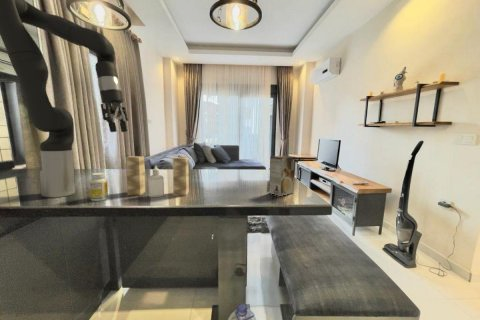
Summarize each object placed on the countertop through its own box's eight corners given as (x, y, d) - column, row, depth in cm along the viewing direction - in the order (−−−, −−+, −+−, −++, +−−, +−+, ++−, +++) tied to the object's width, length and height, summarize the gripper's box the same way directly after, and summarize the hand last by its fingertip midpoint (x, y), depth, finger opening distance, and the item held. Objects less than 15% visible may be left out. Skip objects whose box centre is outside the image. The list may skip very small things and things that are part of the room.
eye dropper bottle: (160, 198, 84) (159, 167, 83) (146, 197, 85) (145, 166, 83) (165, 194, 88) (165, 165, 87) (152, 193, 89) (152, 164, 88)
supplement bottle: (96, 202, 78) (94, 175, 76) (88, 199, 80) (86, 173, 79) (111, 198, 82) (110, 173, 81) (103, 196, 85) (101, 171, 84)
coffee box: (282, 190, 100) (283, 155, 98) (293, 193, 95) (296, 156, 93) (268, 193, 94) (270, 156, 92) (280, 197, 89) (282, 158, 87)
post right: (173, 195, 87) (172, 158, 86) (176, 192, 92) (176, 156, 90) (186, 195, 88) (185, 158, 86) (188, 192, 93) (188, 157, 91)
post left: (127, 195, 87) (125, 157, 85) (133, 191, 92) (131, 156, 90) (140, 195, 87) (139, 157, 85) (145, 191, 92) (144, 156, 90)
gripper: (111, 94, 93) (119, 133, 95) (89, 88, 79) (99, 133, 81) (128, 92, 93) (136, 130, 95) (110, 85, 79) (119, 130, 81)
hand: (119, 131), depth 88 cm, fingers open, 8 cm apart
